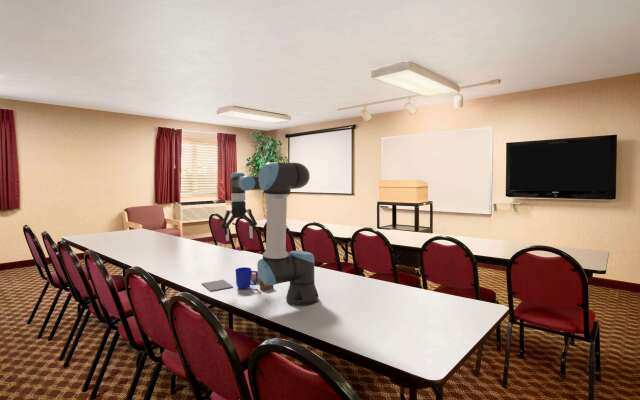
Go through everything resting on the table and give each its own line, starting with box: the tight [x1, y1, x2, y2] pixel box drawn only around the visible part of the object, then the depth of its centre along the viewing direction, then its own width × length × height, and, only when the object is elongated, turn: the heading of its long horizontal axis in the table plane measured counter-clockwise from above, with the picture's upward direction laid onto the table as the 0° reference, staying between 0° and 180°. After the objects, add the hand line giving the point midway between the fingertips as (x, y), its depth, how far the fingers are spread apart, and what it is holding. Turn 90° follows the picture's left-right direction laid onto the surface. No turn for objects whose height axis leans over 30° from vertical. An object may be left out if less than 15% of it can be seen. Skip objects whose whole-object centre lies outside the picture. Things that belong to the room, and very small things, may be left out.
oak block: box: [251, 272, 260, 284], centre depth 202 cm, size 5×5×5 cm
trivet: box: [201, 279, 234, 293], centre depth 194 cm, size 16×12×1 cm
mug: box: [235, 266, 258, 290], centre depth 190 cm, size 8×12×10 cm
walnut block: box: [259, 279, 274, 291], centre depth 188 cm, size 5×5×5 cm
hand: (239, 239), depth 198 cm, fingers open, 13 cm apart
